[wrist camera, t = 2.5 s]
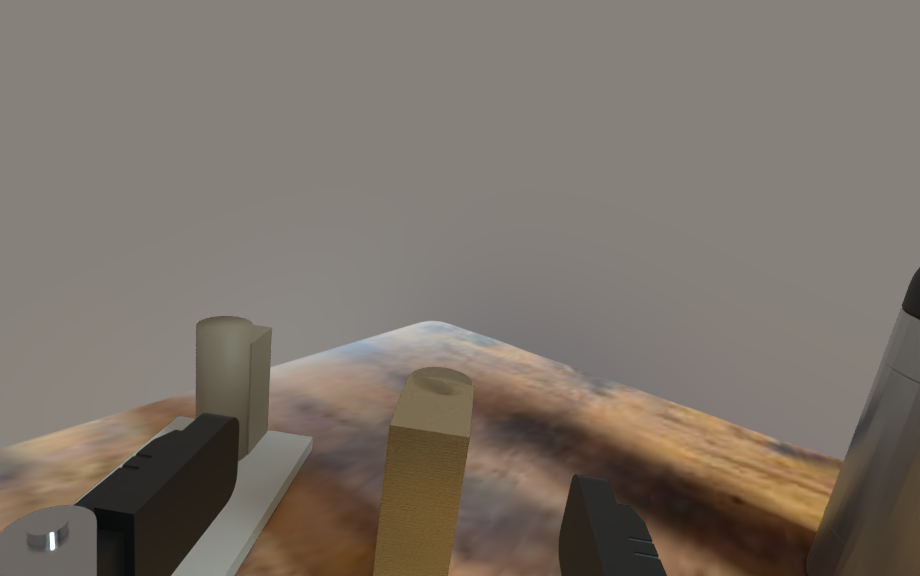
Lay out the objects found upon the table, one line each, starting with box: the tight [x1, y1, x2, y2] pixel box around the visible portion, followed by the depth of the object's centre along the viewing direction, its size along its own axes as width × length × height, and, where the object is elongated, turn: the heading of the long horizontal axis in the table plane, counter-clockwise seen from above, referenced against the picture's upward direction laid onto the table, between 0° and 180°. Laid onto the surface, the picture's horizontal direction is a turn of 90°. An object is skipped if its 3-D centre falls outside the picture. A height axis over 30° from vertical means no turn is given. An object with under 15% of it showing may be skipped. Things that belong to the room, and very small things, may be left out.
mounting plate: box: [72, 316, 313, 576], centre depth 29 cm, size 16×10×10 cm, turn 176°
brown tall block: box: [373, 367, 474, 576], centre depth 26 cm, size 7×3×11 cm, turn 176°
